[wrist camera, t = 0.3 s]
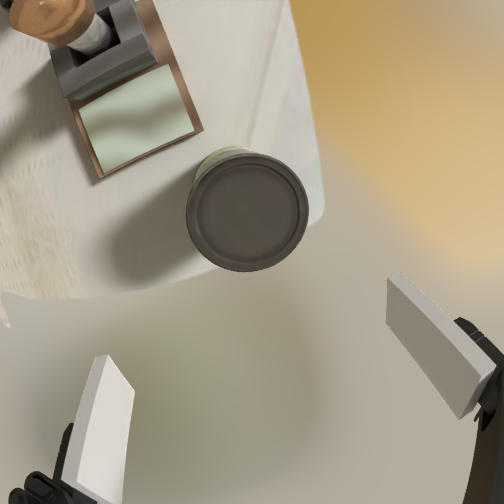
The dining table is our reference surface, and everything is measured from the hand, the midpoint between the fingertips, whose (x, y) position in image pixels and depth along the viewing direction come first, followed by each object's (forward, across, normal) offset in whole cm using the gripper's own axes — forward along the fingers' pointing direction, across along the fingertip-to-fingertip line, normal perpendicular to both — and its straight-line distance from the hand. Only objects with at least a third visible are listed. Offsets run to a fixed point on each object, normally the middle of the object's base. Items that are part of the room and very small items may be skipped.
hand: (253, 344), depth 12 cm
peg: (+26, -8, +23) cm, 36 cm away
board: (+28, -8, +18) cm, 34 cm away
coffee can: (+28, +2, +1) cm, 28 cm away
